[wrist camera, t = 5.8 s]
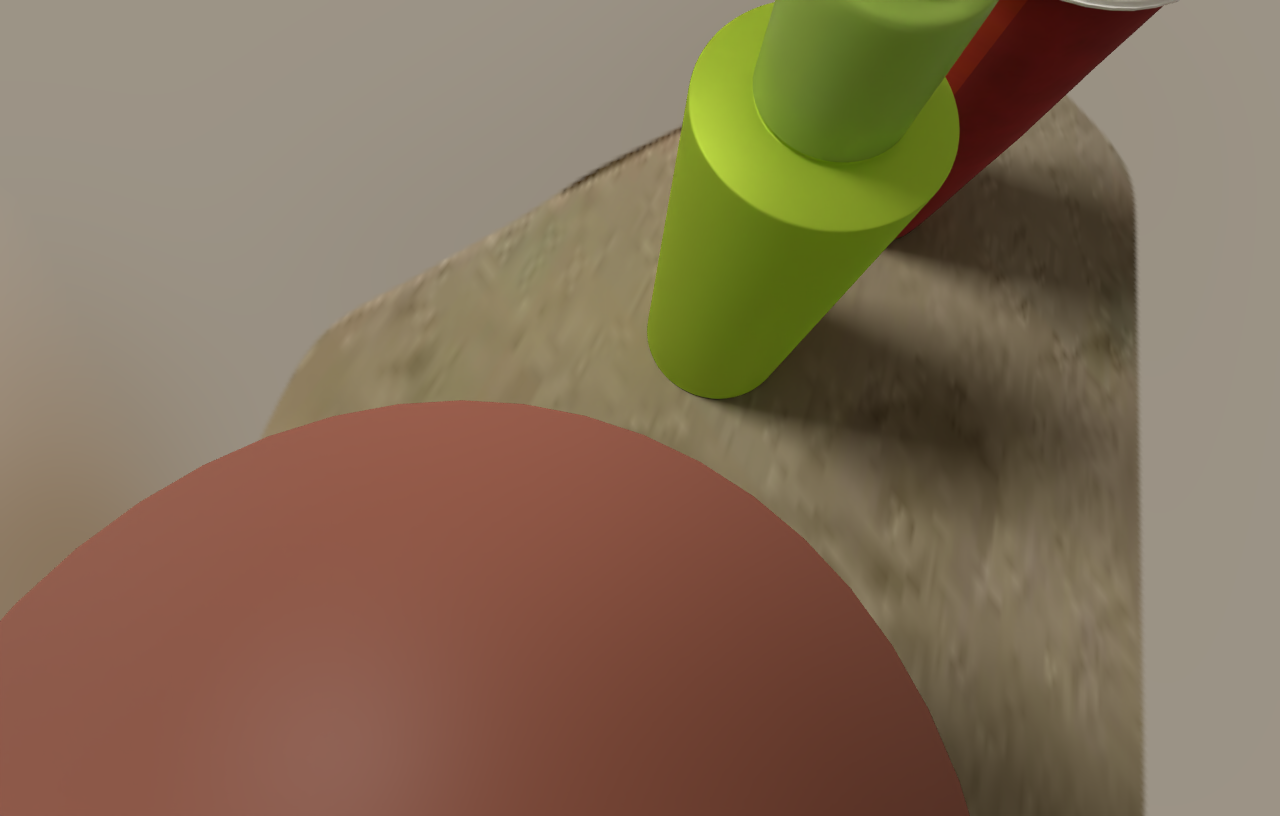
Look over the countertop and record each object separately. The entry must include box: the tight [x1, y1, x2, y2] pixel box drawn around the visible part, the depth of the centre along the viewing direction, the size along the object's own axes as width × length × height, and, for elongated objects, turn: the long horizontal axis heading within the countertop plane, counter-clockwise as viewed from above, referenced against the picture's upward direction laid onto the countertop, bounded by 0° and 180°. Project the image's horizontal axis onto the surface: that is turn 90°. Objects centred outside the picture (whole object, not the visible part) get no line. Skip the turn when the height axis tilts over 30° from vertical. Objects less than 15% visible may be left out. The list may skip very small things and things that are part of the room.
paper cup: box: [894, 0, 1179, 240], centre depth 20 cm, size 8×8×14 cm
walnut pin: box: [0, 400, 970, 816], centre depth 9 cm, size 5×5×14 cm
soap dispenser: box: [647, 0, 999, 399], centre depth 15 cm, size 6×7×20 cm
